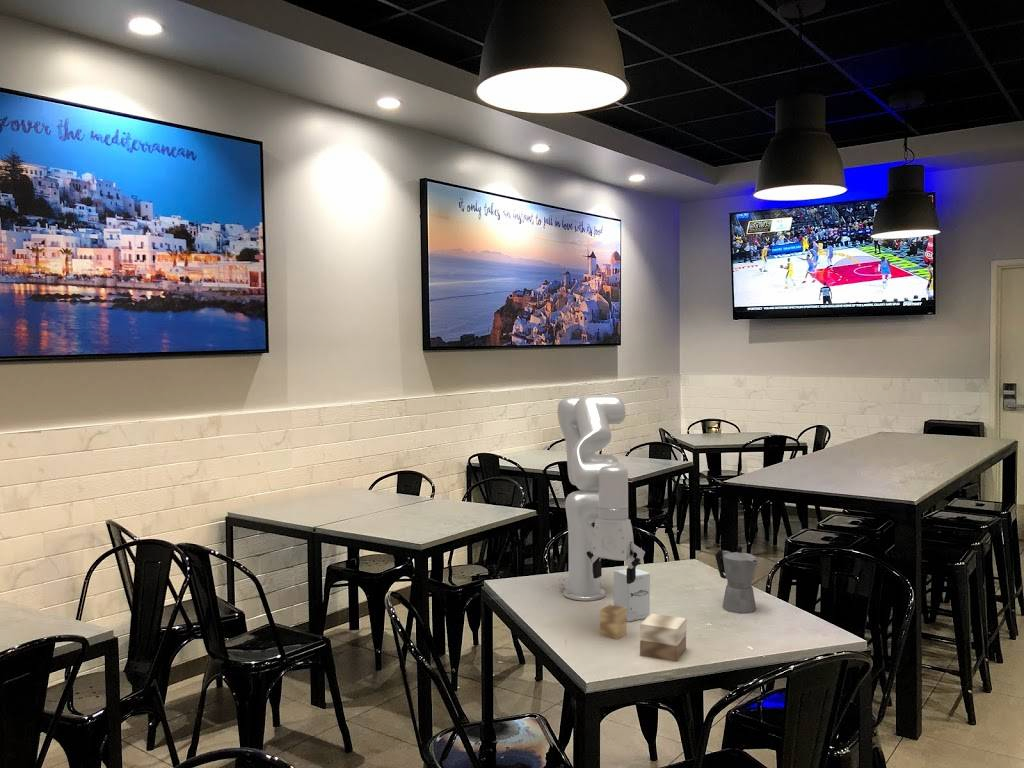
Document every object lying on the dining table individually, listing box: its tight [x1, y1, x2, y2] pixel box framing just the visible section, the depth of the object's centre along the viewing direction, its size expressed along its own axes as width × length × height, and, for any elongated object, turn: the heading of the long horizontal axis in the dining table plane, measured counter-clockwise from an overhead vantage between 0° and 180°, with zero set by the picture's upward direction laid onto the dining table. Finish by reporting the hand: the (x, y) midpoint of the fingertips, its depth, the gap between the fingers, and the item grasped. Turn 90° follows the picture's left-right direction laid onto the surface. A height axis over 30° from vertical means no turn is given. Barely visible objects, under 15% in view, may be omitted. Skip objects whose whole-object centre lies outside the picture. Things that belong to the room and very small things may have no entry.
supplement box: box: [613, 568, 651, 623], centre depth 231 cm, size 7×7×13 cm
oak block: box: [599, 603, 628, 640], centre depth 217 cm, size 5×5×7 cm
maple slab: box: [639, 613, 687, 646], centre depth 204 cm, size 9×9×4 cm
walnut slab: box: [639, 635, 687, 662], centre depth 204 cm, size 9×9×4 cm
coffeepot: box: [715, 545, 760, 614], centre depth 239 cm, size 15×9×18 cm, turn 33°
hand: (613, 580), depth 216 cm, fingers open, 9 cm apart
